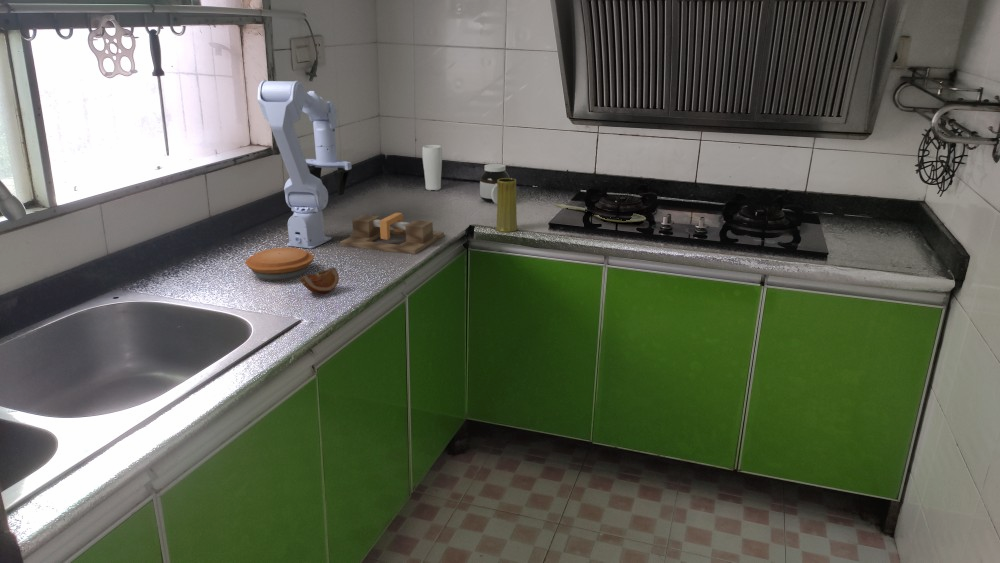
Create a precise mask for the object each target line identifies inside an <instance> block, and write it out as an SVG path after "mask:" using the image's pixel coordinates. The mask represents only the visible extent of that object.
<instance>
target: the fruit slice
mask: <svg viewBox="0 0 1000 563" xmlns="http://www.w3.org/2000/svg"><path fill="white" fill-rule="evenodd" d="M339 280H340V276H339V273H338V271H337V268H336V267H332V268H327V269H326V270H321V271H317V272H316V273H311V274H307V275H302V276H301V278H300V282H301V284H302V285H303V286H304V287H305V288H306V289H307V290H308V291H309V292H311V293H314V294H319V295H325V294H328V293H330V292H333V291H334V289H335V288H336V287H337V285H338V284H339Z"/></svg>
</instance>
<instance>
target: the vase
mask: <svg viewBox="0 0 1000 563" xmlns="http://www.w3.org/2000/svg"><path fill="white" fill-rule="evenodd" d="M497 184H498V186H497V204H496V227H495V229H496V231H498V232H500V233H513V232H516V231H517V230H518V225H517V224H518V223H517V222H518V221H517V220H518V219H517V179H516V178H512V177H511V178H501V179H498V180H497Z"/></svg>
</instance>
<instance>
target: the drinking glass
mask: <svg viewBox="0 0 1000 563" xmlns="http://www.w3.org/2000/svg"><path fill="white" fill-rule="evenodd" d="M421 150H422V151H421V155H422V156H421V158H422V165H423V166H422V167H423V174H424V181H425V182H424V183H425V189H426V190H427V191H431V190H435V191H439V190H441V188H442V166H443V164H442V163H443V148H442V145H439V144H427V145H423V146H422V148H421Z"/></svg>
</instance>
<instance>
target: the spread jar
mask: <svg viewBox="0 0 1000 563" xmlns="http://www.w3.org/2000/svg"><path fill="white" fill-rule="evenodd" d="M506 167H507V166H506V165H505V164H502V163H488V164H485V165H484V172H483V173H482V174H481V176H480V179H479V180H480V181H479V194H480V198H481V200H482V201H483V202H485V203H489V204H496V205H497V186H498V184H497V180H498V179H501V178H510V174H508V172H507V171H506Z"/></svg>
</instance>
